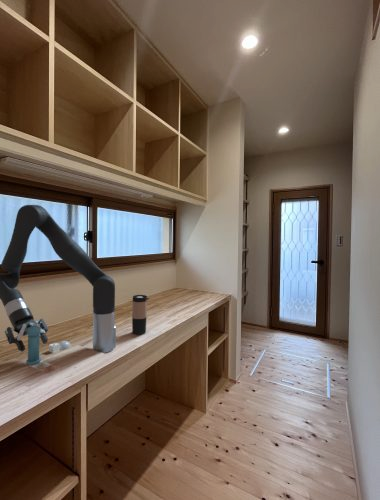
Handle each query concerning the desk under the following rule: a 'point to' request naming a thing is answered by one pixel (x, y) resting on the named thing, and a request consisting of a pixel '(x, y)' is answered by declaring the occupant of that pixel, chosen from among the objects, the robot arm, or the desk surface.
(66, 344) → the die tray
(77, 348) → the desk surface
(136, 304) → the travel mug
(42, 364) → the track board
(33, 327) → the pawn
